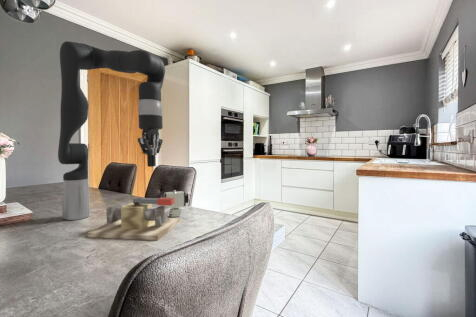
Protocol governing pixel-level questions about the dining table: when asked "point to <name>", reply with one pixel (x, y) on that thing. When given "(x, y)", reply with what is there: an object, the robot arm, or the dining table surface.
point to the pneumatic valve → (176, 202)
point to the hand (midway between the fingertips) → (151, 166)
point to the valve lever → (154, 201)
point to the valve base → (134, 233)
